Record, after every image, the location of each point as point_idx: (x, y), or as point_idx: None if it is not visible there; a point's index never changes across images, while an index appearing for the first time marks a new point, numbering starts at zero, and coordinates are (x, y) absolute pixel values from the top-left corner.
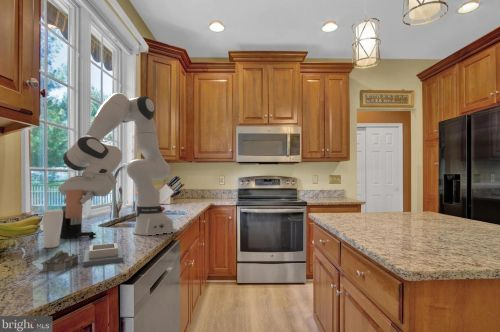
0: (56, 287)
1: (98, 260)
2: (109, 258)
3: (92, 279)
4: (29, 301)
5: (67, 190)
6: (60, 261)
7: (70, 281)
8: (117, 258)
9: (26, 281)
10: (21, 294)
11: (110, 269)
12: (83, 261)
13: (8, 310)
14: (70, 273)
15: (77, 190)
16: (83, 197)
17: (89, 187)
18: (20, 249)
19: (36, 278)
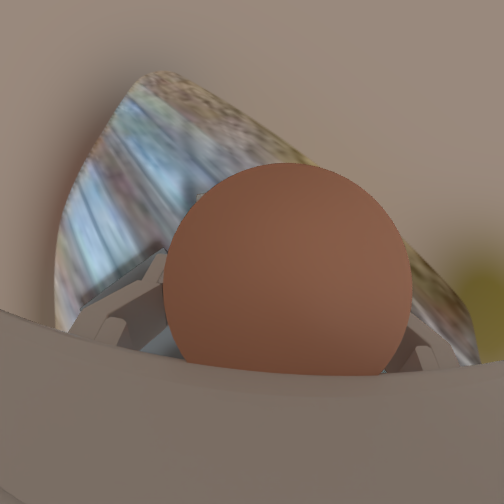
0: (146, 131)
1: (130, 271)
2: (108, 291)
3: (99, 178)
4: (156, 90)
5: (340, 181)
6: (201, 196)
7: (137, 159)
8: (91, 301)
9: (230, 141)
10: (188, 101)
11: (88, 242)
12: (165, 250)
13: (165, 71)
14: (166, 197)
15: (189, 213)
16: (149, 282)
17: (65, 380)
18: (470, 357)
19: (223, 157)
